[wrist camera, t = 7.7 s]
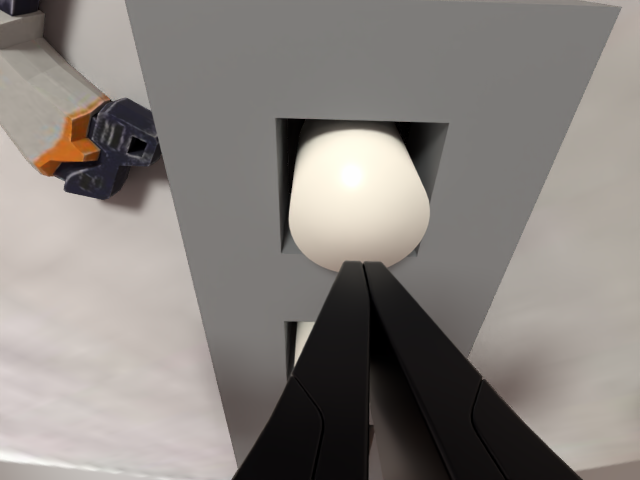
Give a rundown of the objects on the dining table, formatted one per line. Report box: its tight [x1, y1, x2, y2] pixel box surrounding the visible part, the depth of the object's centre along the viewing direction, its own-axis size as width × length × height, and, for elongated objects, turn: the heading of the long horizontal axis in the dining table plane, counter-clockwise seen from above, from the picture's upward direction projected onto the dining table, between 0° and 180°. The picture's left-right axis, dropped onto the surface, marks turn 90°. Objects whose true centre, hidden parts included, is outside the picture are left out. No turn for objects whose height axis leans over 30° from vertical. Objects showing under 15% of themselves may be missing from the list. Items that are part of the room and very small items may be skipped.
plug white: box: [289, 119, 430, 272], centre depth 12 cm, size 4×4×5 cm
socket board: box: [125, 0, 622, 480], centre depth 18 cm, size 11×26×4 cm, turn 178°
